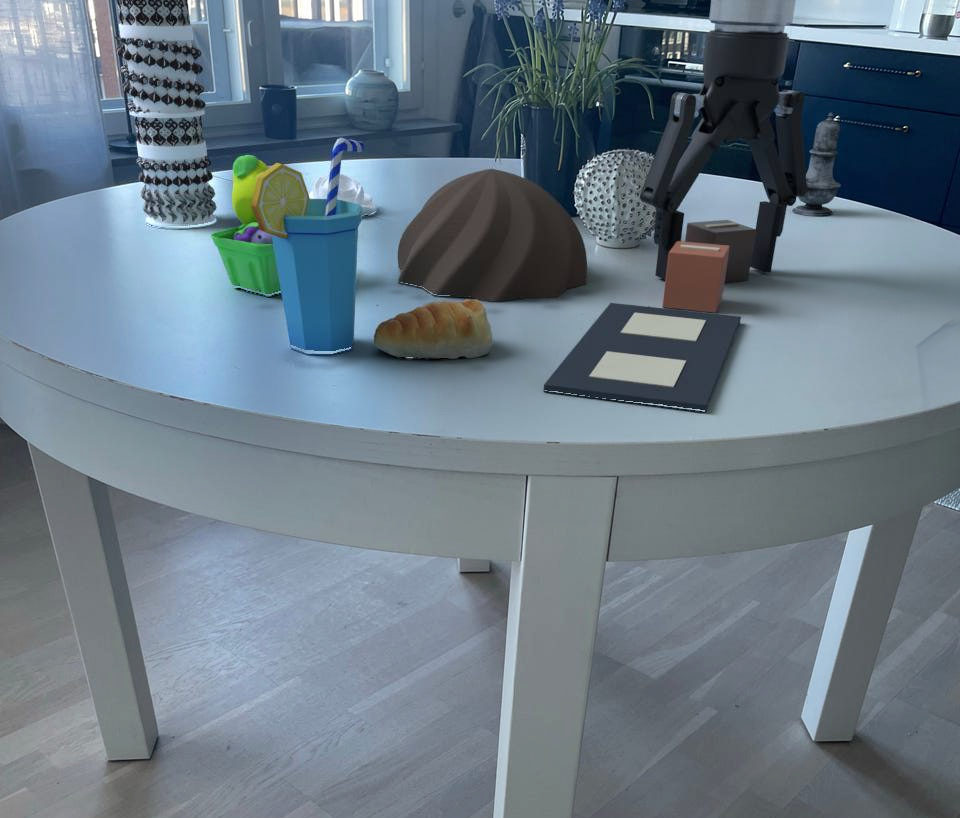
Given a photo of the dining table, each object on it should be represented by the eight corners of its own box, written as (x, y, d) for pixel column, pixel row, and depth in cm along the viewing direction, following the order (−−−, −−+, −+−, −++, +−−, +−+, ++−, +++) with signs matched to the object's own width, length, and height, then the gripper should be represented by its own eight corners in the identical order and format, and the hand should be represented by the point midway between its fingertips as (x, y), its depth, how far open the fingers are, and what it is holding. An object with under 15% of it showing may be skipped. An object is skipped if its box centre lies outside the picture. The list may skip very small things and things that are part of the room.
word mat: (705, 413, 72) (706, 403, 72) (543, 392, 75) (543, 383, 75) (740, 323, 92) (741, 315, 91) (609, 309, 95) (610, 301, 94)
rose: (331, 165, 133) (392, 172, 129) (333, 201, 135) (393, 210, 131) (282, 175, 126) (345, 183, 122) (285, 213, 128) (347, 223, 124)
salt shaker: (822, 218, 133) (842, 115, 126) (781, 211, 136) (799, 111, 129) (842, 212, 136) (863, 112, 130) (803, 206, 139) (820, 108, 133)
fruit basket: (267, 303, 94) (255, 170, 88) (204, 286, 98) (188, 158, 92) (352, 279, 102) (346, 156, 95) (290, 265, 106) (281, 146, 100)
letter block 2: (721, 299, 98) (730, 243, 95) (715, 313, 94) (724, 255, 91) (670, 294, 99) (677, 239, 97) (662, 307, 95) (668, 250, 93)
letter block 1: (748, 280, 105) (756, 227, 102) (707, 284, 103) (715, 230, 100) (720, 269, 108) (727, 218, 106) (680, 272, 107) (687, 221, 104)
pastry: (387, 368, 79) (386, 318, 77) (364, 343, 84) (362, 297, 82) (498, 356, 82) (500, 308, 80) (469, 333, 87) (469, 288, 85)
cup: (328, 315, 91) (317, 129, 83) (406, 326, 89) (403, 136, 80) (241, 360, 80) (218, 151, 72) (327, 374, 78) (313, 160, 70)
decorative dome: (373, 259, 109) (369, 157, 103) (544, 249, 115) (549, 151, 109) (424, 307, 94) (423, 190, 88) (618, 292, 99) (629, 182, 94)
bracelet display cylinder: (126, 225, 120) (85, -26, 107) (169, 211, 128) (137, -26, 114) (193, 232, 118) (161, -24, 104) (234, 217, 125) (208, -24, 112)
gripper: (823, 26, 100) (782, 257, 112) (617, 26, 92) (597, 274, 104) (876, 31, 95) (827, 273, 107) (662, 30, 87) (635, 292, 99)
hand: (713, 274), depth 106 cm, fingers open, 11 cm apart
